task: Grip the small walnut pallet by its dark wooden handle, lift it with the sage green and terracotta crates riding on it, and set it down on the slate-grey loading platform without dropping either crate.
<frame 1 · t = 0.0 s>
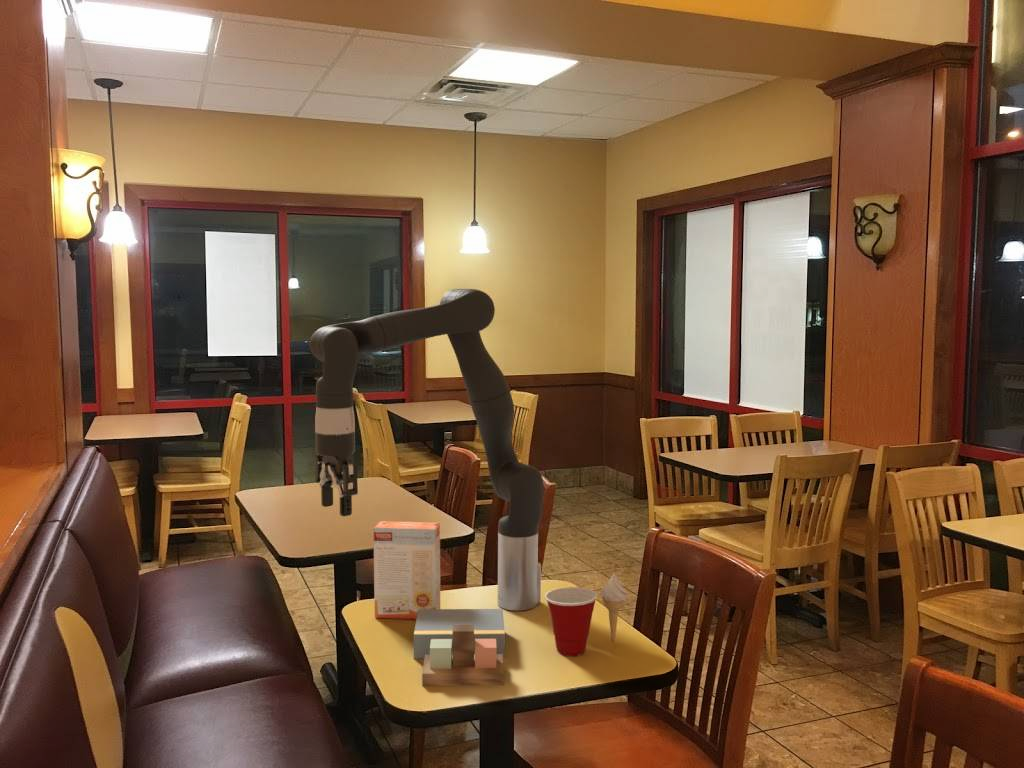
hand: (336, 510, 164), 29 cm above the table, tool pointing down, fingers open, 8 cm apart
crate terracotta: (485, 663, 158), point 2 cm above the table, touching pallet
dock: (459, 644, 172), on the table
plastic cup: (570, 650, 170), on the table
cracker box: (407, 615, 188), on the table
crate green: (441, 663, 158), point 2 cm above the table, touching pallet
ice cream cone: (612, 642, 175), on the table
pallet: (463, 677, 158), on the table, touching crate green, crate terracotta
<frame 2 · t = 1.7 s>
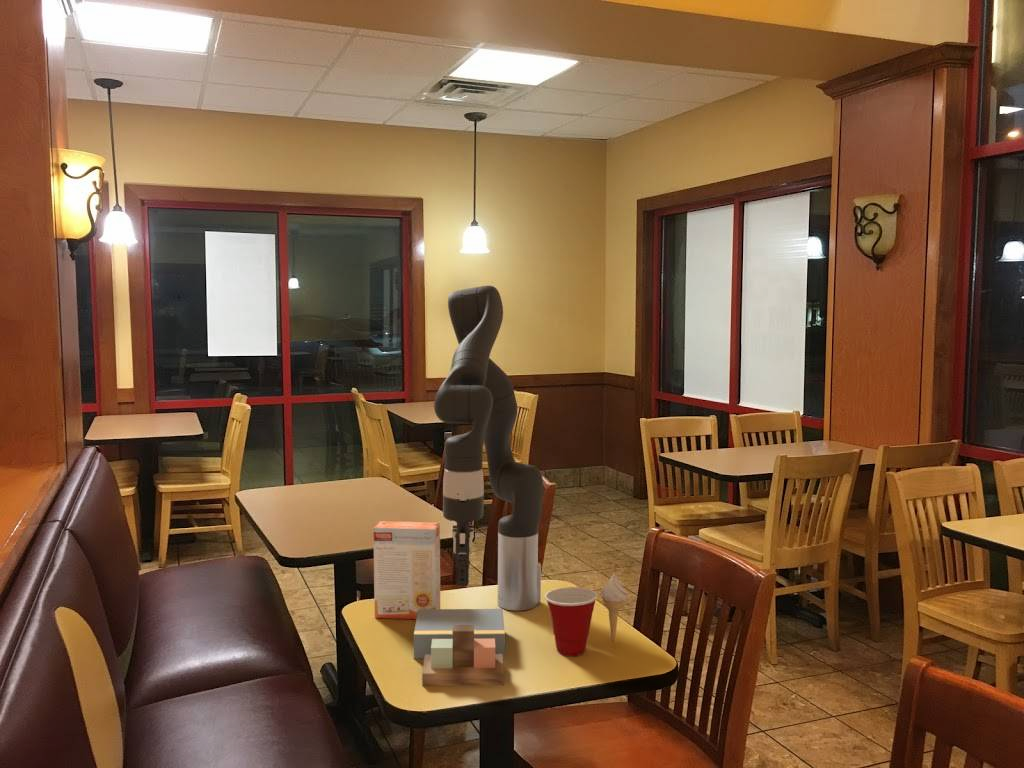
hand: (462, 577, 156), 19 cm above the table, tool pointing down, fingers open, 8 cm apart
nothing on the table moved.
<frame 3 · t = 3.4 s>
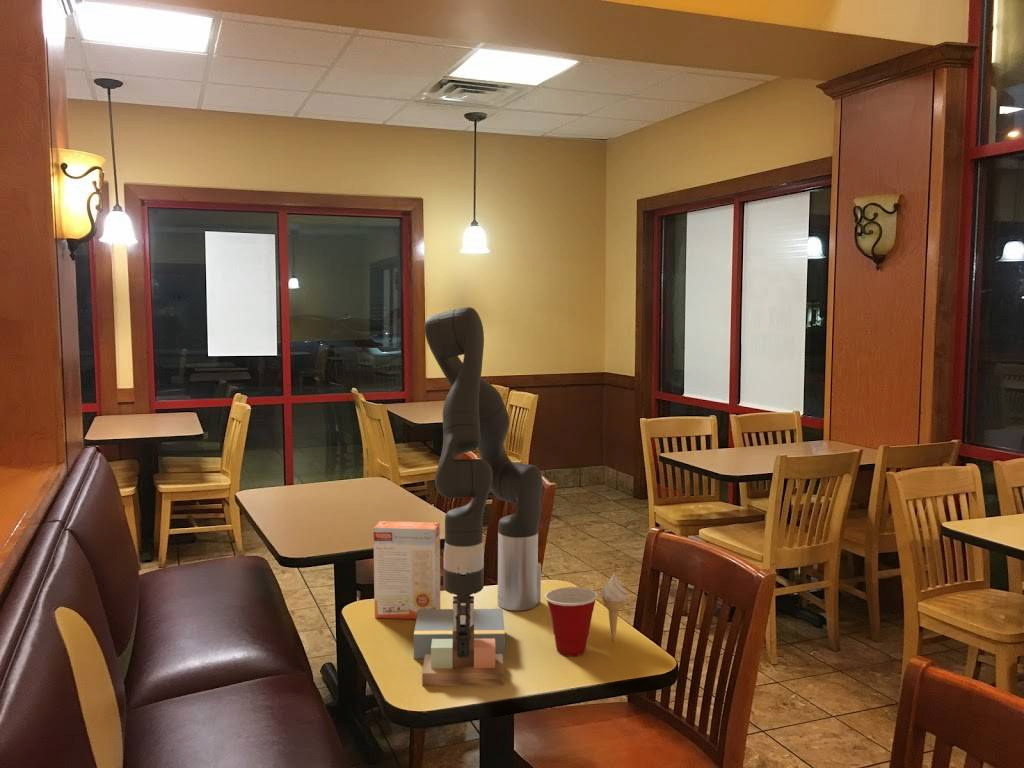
hand: (463, 652, 158), 5 cm above the table, tool pointing down, fingers closed on pallet, 3 cm apart
pallet: (463, 676, 158), on the table, touching crate green, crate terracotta, gripper
everything else where it was.
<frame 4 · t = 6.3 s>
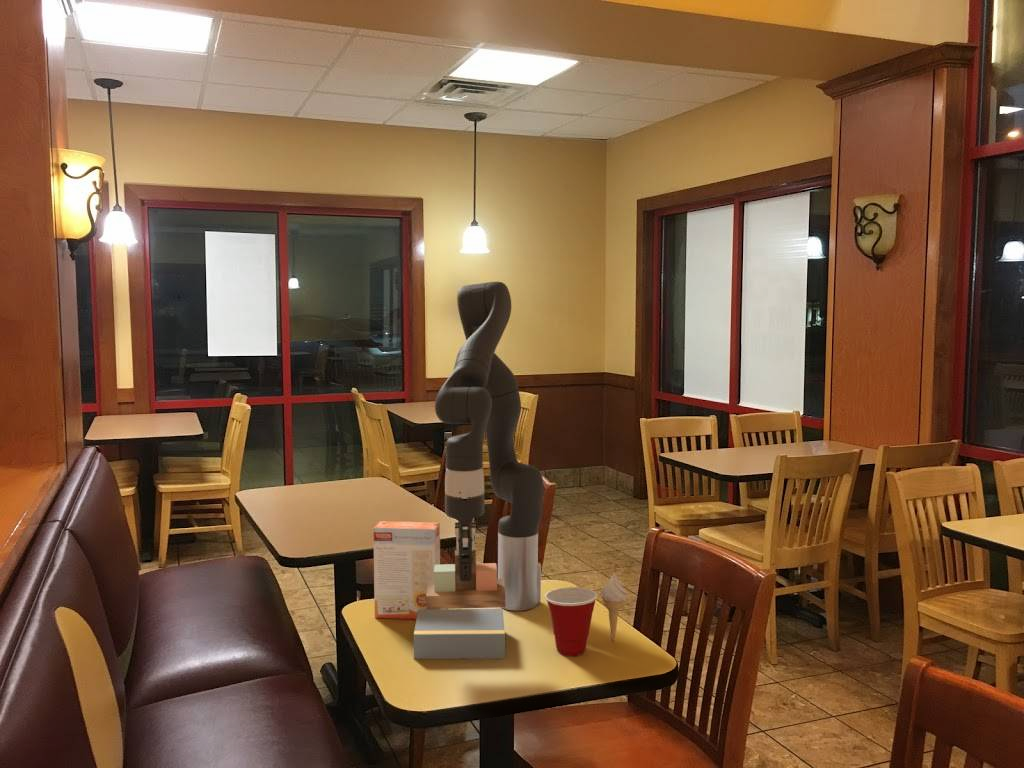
hand: (465, 576, 162), 18 cm above the table, tool pointing down, fingers closed on pallet, 3 cm apart
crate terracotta: (486, 586, 162), point 16 cm above the table, touching pallet
crate green: (445, 587, 162), point 15 cm above the table, touching pallet
pallet: (465, 600, 162), point 13 cm above the table, touching crate green, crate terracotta, gripper
everything else where it was.
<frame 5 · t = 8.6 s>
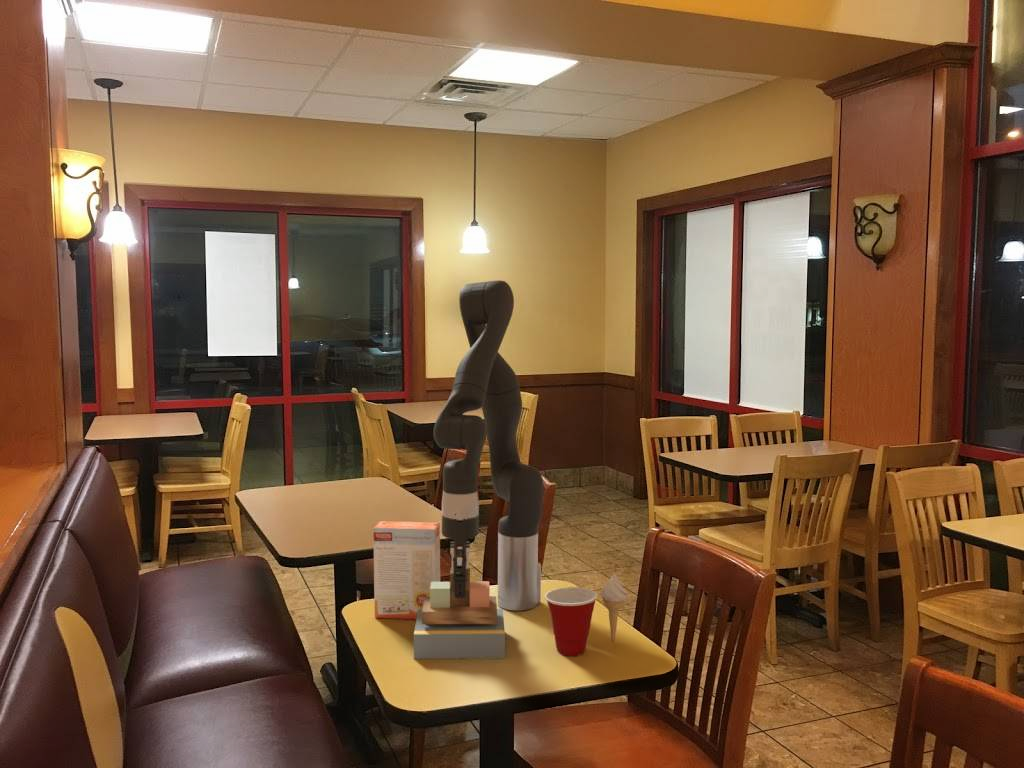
hand: (460, 593, 171), 11 cm above the table, tool pointing down, fingers closed on pallet, 3 cm apart
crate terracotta: (479, 603, 171), point 9 cm above the table, touching pallet
crate green: (440, 603, 171), point 9 cm above the table, touching pallet
pallet: (460, 616, 172), point 6 cm above the table, touching crate green, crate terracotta, gripper
everything else where it was.
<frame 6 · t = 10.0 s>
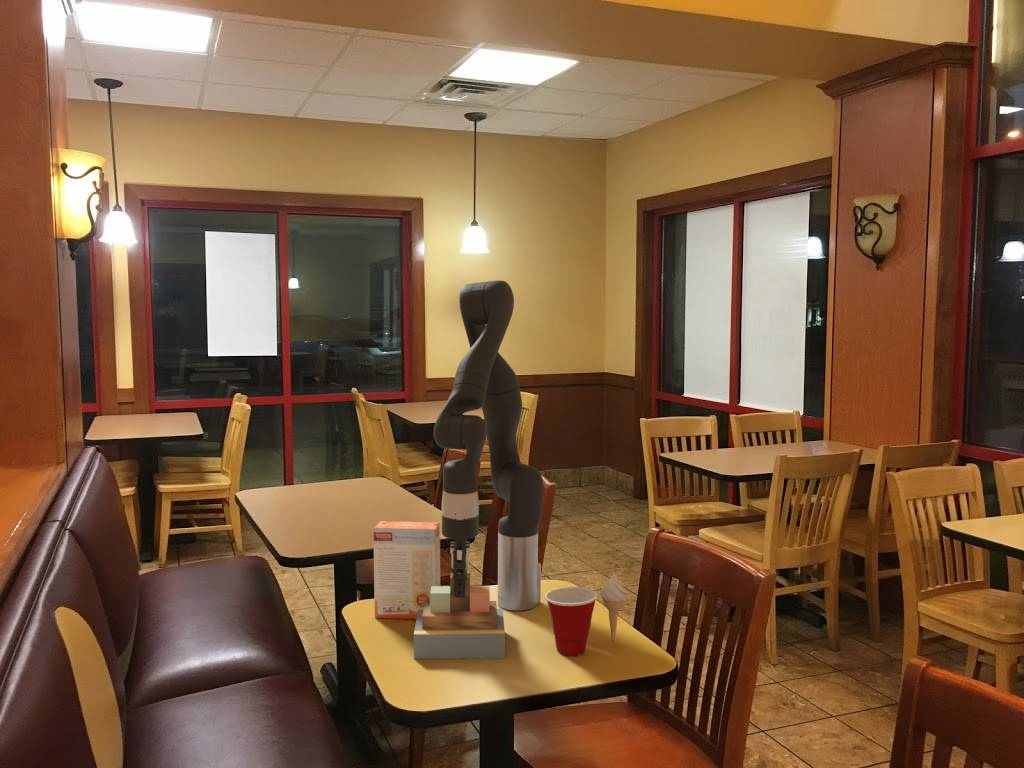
hand: (460, 589, 171), 12 cm above the table, tool pointing down, fingers open, 8 cm apart
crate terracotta: (479, 608, 172), point 8 cm above the table, touching pallet
pallet: (460, 621, 172), point 5 cm above the table, touching crate green, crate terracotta, dock
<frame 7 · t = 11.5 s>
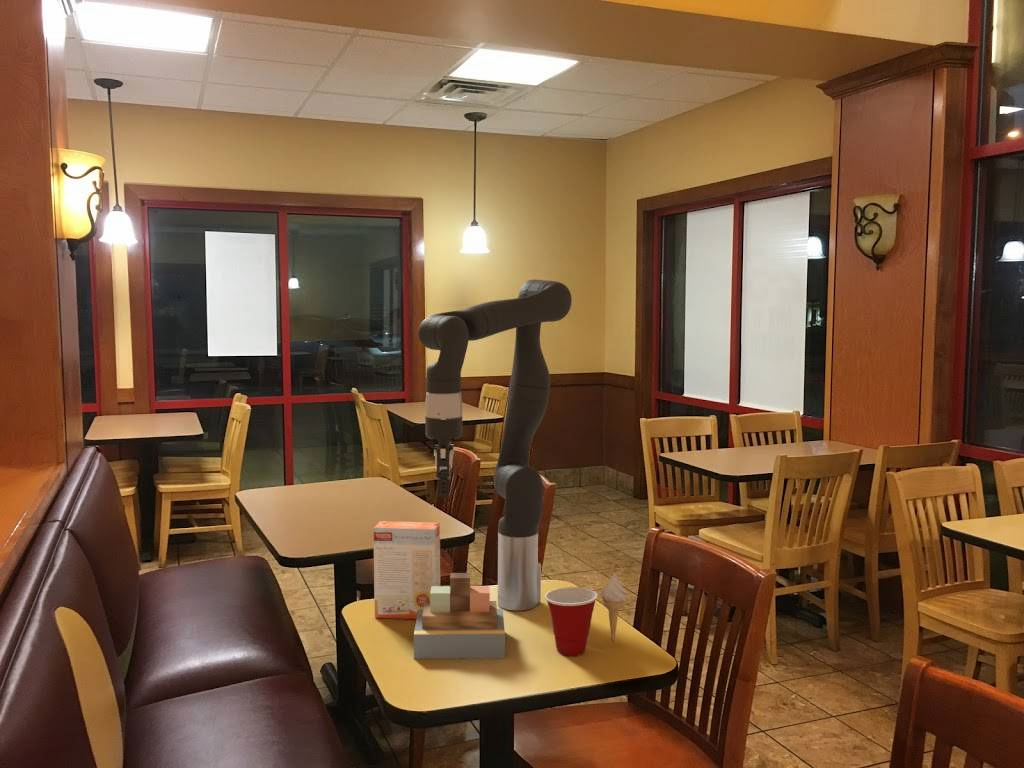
hand: (444, 492, 171), 31 cm above the table, tool pointing down, fingers open, 8 cm apart
nothing on the table moved.
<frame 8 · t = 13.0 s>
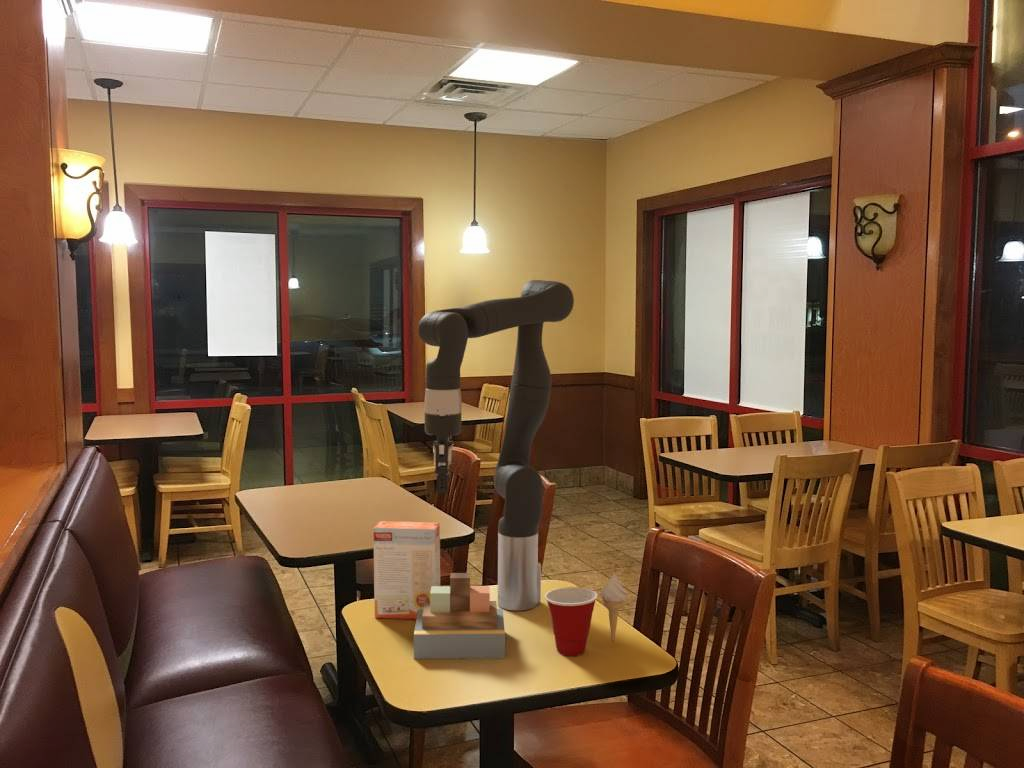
hand: (443, 488, 172), 32 cm above the table, tool pointing down, fingers open, 8 cm apart
nothing on the table moved.
at the end: pallet inside the target area on the dock (0.1 cm from its centre), point 5.0 cm above the dock's base; crate green inside the target area on the pallet (0.5 cm from its centre), point 2.7 cm above the pallet's base; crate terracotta inside the target area on the pallet (0.5 cm from its centre), point 2.7 cm above the pallet's base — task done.
